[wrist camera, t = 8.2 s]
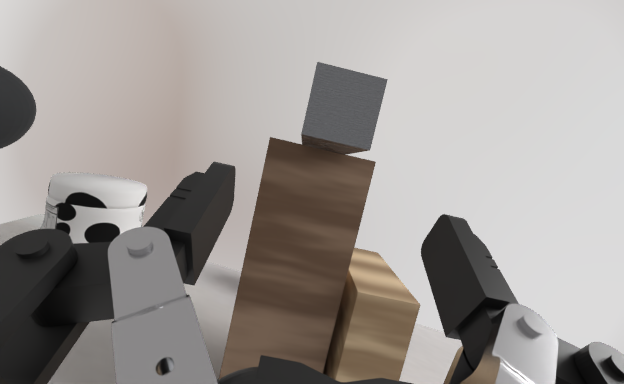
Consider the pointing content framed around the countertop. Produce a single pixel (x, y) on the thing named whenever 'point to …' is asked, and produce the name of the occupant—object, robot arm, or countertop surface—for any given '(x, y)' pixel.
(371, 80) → the gray metal block
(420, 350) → the countertop surface
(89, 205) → the spotted cookie jar
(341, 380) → the stand
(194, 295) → the countertop surface
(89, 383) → the countertop surface
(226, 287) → the countertop surface
